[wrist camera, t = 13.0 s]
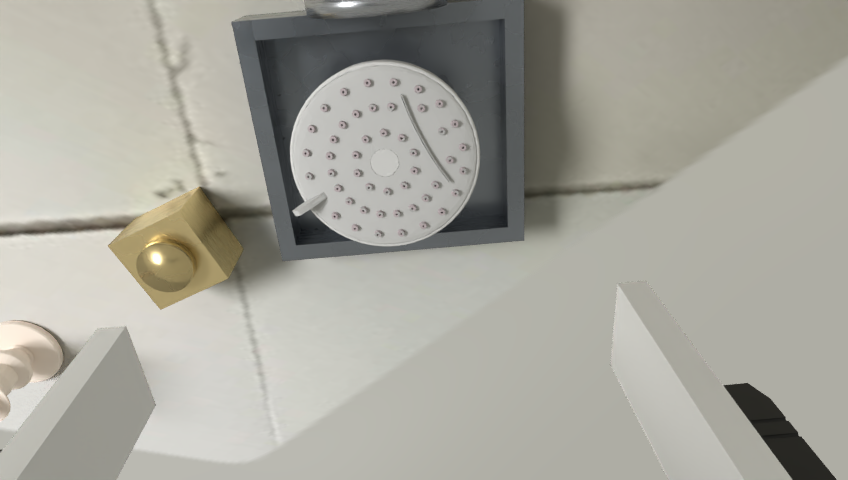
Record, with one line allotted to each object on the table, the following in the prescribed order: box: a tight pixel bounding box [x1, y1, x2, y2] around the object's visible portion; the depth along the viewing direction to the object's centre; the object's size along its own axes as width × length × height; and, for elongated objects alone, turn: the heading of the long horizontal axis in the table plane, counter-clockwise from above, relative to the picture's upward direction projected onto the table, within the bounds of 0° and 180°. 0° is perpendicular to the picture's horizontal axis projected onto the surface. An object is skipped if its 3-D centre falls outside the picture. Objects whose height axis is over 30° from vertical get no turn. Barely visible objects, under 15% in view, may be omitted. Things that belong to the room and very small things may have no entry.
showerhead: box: [290, 60, 480, 246], centre depth 31 cm, size 9×7×10 cm
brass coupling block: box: [108, 187, 243, 310], centre depth 36 cm, size 5×5×5 cm
